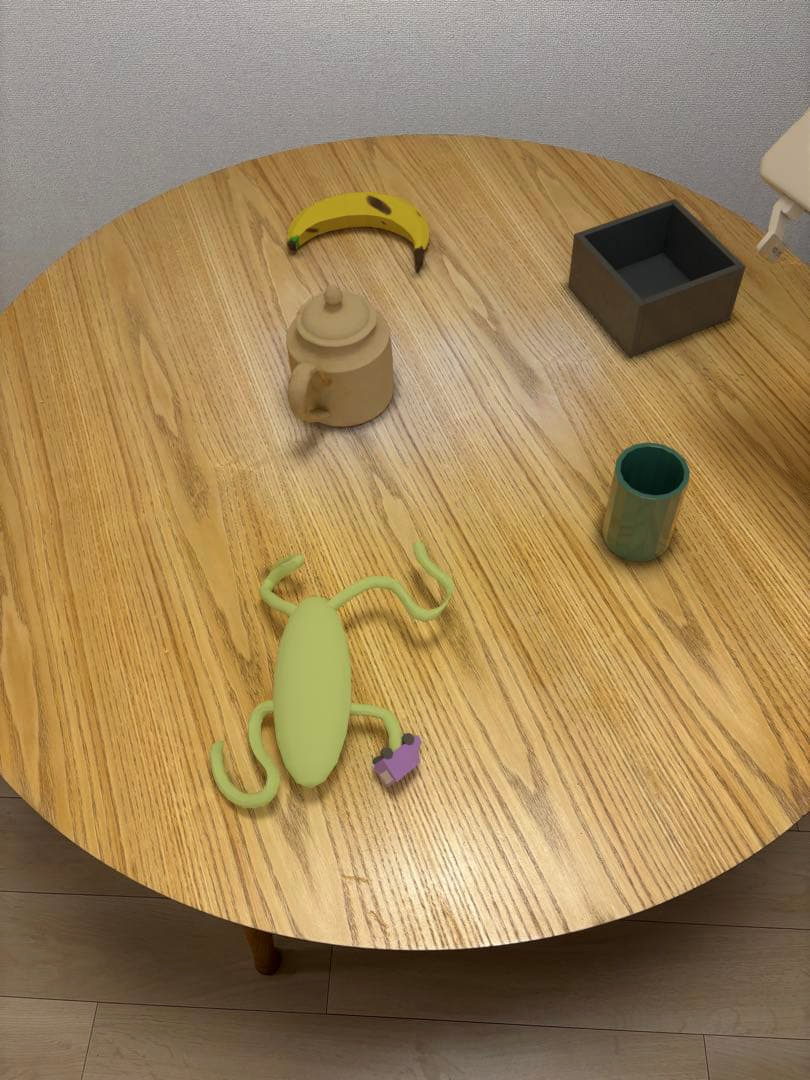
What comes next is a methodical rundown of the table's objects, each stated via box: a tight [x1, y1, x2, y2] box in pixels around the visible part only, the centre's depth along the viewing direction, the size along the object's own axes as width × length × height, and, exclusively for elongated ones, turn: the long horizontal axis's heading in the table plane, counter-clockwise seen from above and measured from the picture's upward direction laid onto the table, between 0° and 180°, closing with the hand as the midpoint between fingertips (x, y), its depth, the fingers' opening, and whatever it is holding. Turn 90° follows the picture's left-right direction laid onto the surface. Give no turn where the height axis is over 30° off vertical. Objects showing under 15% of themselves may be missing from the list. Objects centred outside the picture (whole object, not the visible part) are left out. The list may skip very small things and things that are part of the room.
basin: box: [567, 198, 747, 358], centre depth 114 cm, size 14×14×8 cm
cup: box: [601, 442, 691, 563], centre depth 94 cm, size 7×7×10 cm
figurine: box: [209, 541, 455, 809], centre depth 88 cm, size 18×27×6 cm
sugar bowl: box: [285, 283, 395, 428], centre depth 104 cm, size 15×11×15 cm
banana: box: [286, 191, 430, 273], centre depth 124 cm, size 5×17×15 cm
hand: (804, 288), depth 81 cm, fingers open, 8 cm apart
